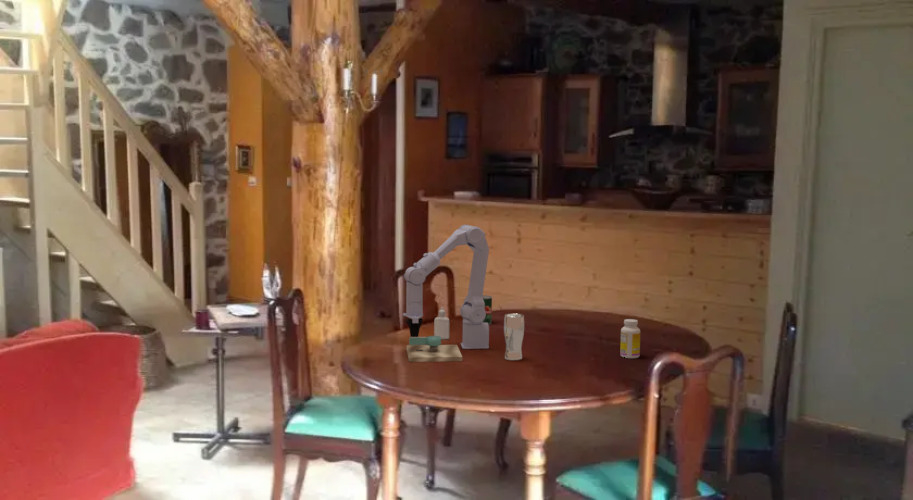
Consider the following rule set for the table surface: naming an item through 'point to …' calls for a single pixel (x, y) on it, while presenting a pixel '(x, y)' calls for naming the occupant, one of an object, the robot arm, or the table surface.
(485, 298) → the canned tomato
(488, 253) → the robot arm
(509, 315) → the beer glass
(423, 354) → the post base
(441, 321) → the eye dropper bottle
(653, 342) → the table surface
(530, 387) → the table surface
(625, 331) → the supplement bottle
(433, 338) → the knob
